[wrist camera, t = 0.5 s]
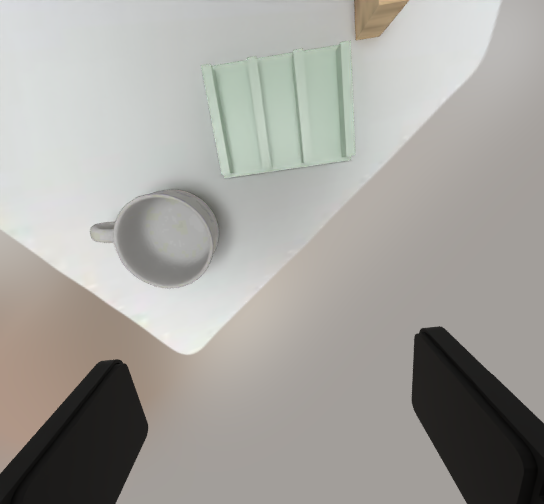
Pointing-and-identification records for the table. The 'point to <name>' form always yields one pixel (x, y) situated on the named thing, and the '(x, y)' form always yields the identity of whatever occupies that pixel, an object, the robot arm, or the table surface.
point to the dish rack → (282, 110)
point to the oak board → (375, 16)
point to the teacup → (163, 237)
